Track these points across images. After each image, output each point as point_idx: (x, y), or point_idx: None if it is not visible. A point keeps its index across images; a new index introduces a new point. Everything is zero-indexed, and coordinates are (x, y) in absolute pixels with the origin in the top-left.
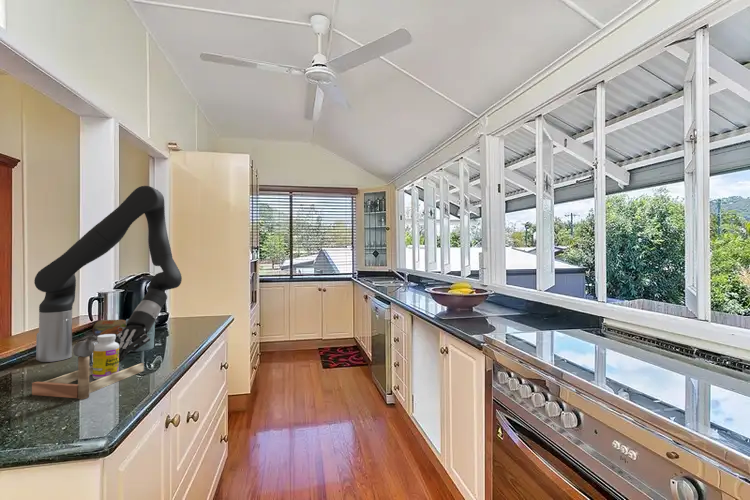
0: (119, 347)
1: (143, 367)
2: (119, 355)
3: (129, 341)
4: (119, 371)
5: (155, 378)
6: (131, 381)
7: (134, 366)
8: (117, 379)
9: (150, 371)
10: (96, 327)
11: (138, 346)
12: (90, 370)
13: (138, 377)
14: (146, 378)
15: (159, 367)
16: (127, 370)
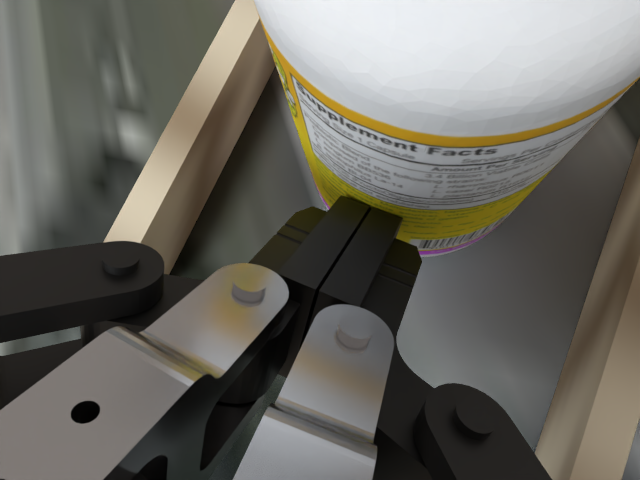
0: (355, 319)
1: None
2: (322, 224)
3: (114, 341)
4: (251, 20)
5: (9, 57)
6: (166, 17)
7: (154, 162)
8: None
9: None
10: None
11: (16, 361)
12: (626, 243)
13: (136, 104)
14: (72, 68)
15: None
16: (199, 76)
